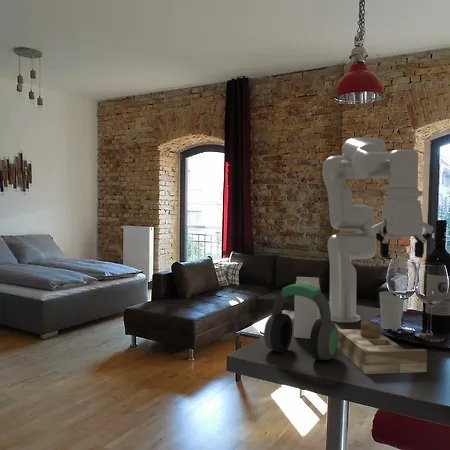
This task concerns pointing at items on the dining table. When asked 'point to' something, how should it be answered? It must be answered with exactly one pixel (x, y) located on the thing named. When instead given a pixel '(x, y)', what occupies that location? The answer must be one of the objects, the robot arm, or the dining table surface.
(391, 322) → the cup
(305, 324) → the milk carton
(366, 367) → the wooden compartment tray
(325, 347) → the headphones
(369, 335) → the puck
